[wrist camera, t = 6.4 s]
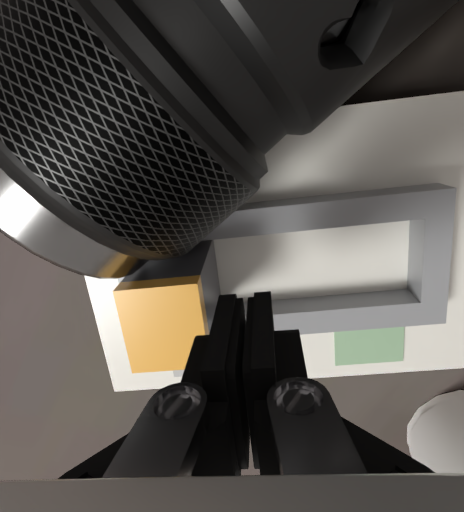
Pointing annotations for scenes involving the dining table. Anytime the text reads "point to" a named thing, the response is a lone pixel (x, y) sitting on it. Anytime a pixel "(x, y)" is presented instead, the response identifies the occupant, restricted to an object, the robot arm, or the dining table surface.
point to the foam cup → (439, 433)
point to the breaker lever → (168, 308)
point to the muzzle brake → (167, 112)
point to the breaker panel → (346, 244)
